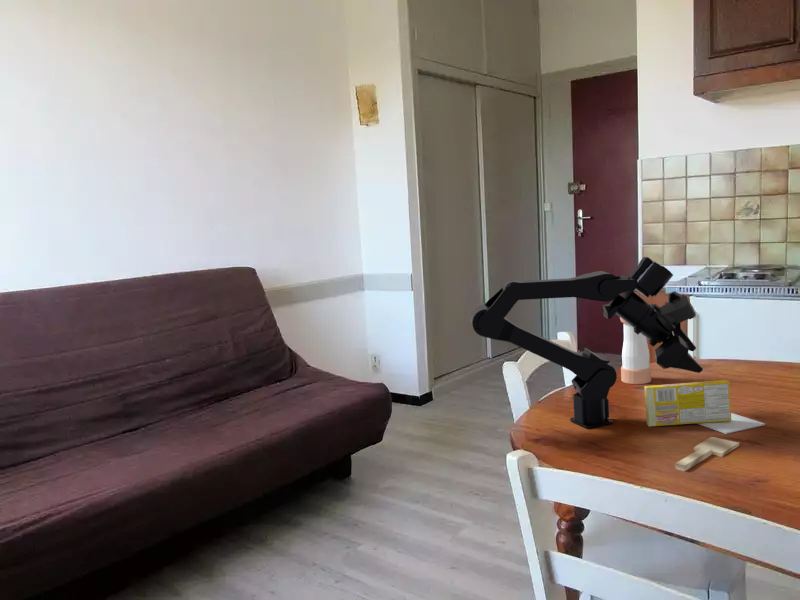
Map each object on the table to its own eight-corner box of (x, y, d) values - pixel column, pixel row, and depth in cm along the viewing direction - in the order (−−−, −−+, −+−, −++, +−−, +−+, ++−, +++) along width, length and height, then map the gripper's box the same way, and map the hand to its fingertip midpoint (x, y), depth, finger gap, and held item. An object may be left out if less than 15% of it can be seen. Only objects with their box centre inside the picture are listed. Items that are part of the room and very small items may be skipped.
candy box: (727, 418, 132) (726, 378, 131) (732, 421, 130) (730, 381, 129) (645, 423, 134) (643, 384, 133) (648, 427, 132) (646, 387, 131)
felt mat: (725, 434, 125) (725, 432, 125) (665, 412, 140) (665, 411, 140) (764, 424, 129) (764, 423, 129) (702, 404, 144) (702, 403, 144)
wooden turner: (694, 473, 109) (694, 468, 108) (666, 466, 112) (665, 461, 112) (739, 445, 119) (739, 440, 119) (711, 439, 123) (711, 434, 123)
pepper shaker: (630, 375, 172) (628, 304, 169) (656, 379, 166) (654, 305, 164) (615, 381, 167) (613, 308, 165) (642, 385, 162) (640, 309, 159)
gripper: (674, 306, 122) (738, 356, 123) (664, 270, 139) (720, 314, 139) (631, 345, 127) (692, 392, 128) (626, 306, 144) (680, 348, 145)
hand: (697, 360), depth 135 cm, fingers open, 9 cm apart
